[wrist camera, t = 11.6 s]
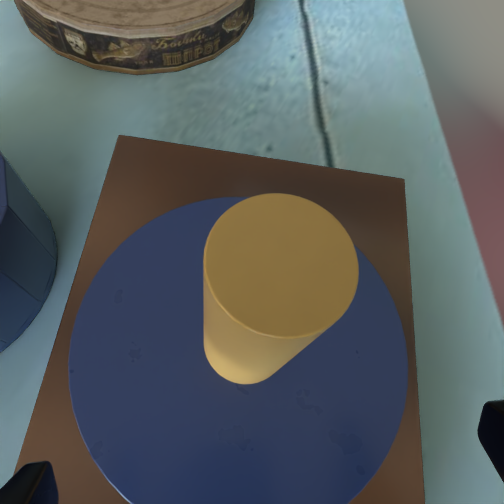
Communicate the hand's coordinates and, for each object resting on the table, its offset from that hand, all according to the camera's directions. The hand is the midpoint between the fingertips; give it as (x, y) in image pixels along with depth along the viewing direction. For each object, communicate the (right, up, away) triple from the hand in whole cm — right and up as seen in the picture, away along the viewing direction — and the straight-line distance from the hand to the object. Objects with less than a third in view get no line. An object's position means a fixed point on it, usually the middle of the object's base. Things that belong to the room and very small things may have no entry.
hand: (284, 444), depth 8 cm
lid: (-1, +1, +6) cm, 6 cm away
